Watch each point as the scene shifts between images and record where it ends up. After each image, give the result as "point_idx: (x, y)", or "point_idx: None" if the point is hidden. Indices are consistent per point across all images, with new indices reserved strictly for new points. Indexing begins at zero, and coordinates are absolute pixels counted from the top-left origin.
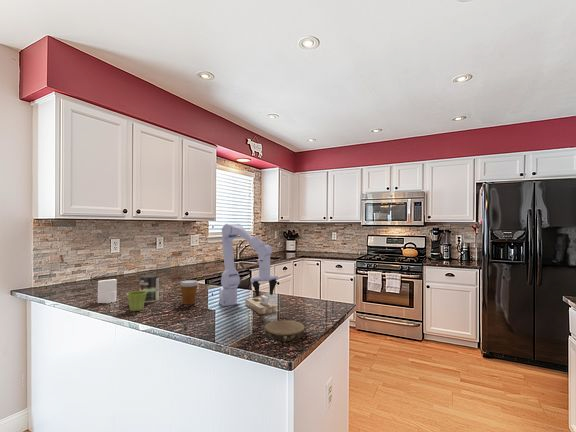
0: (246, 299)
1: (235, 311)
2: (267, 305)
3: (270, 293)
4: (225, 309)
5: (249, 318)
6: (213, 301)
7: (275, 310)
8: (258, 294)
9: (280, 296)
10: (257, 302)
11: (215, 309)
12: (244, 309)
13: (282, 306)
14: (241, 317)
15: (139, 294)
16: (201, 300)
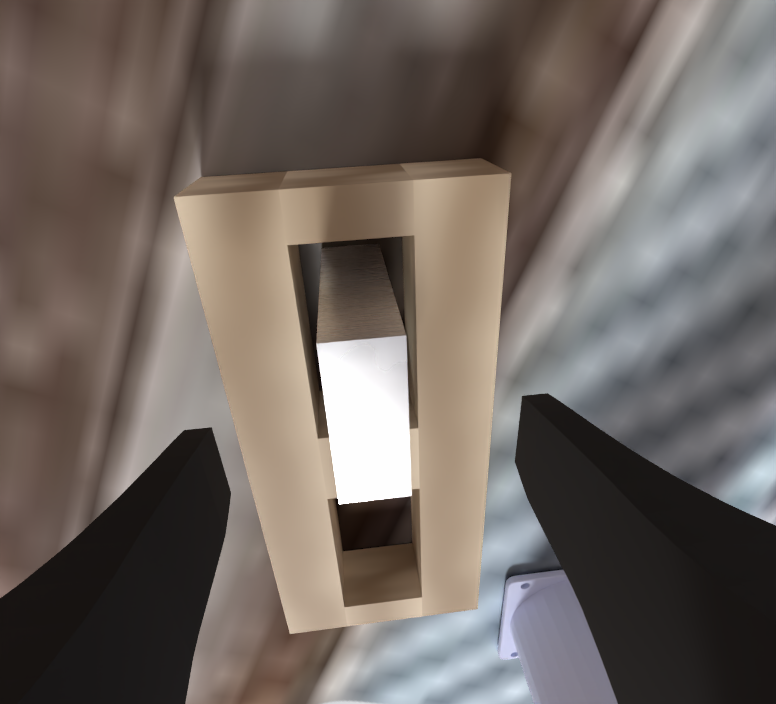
0: (475, 595)
1: (664, 390)
2: (333, 277)
3: (217, 481)
4: (699, 477)
5: (712, 17)
6: None
7: (217, 178)
8: (556, 414)
9: None
10: (412, 466)
11: (765, 500)
12: None
13: (56, 390)
14: (761, 128)
15: None
16: None
